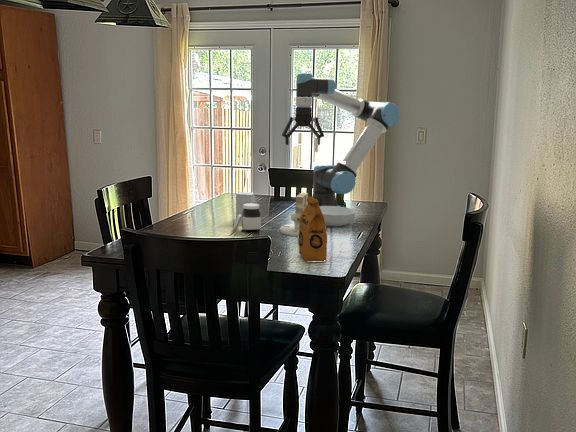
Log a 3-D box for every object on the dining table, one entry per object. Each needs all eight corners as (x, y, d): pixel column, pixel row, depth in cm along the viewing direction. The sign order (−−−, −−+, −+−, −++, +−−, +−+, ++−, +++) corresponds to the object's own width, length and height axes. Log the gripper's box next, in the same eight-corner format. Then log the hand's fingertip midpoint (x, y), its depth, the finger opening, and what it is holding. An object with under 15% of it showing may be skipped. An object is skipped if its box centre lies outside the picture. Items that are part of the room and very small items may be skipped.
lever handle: (294, 216, 254) (294, 192, 252) (313, 218, 252) (314, 193, 250) (287, 221, 243) (288, 196, 241) (308, 223, 241) (309, 197, 239)
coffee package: (301, 263, 202) (303, 202, 197) (296, 254, 214) (297, 196, 209) (329, 263, 203) (331, 202, 199) (322, 253, 215) (324, 196, 211)
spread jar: (262, 233, 245) (262, 206, 242) (236, 234, 242) (236, 207, 239) (255, 227, 256) (256, 201, 254) (230, 228, 253) (231, 202, 250)
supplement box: (250, 221, 267) (251, 194, 264) (235, 220, 268) (235, 193, 266) (254, 218, 274) (255, 192, 272) (239, 217, 276) (240, 191, 273)
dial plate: (327, 229, 254) (327, 218, 253) (313, 238, 238) (314, 226, 237) (289, 225, 261) (289, 214, 260) (273, 233, 244) (274, 222, 243)
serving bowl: (324, 231, 251) (325, 216, 250) (301, 221, 270) (302, 207, 268) (363, 227, 261) (364, 212, 259) (339, 218, 279) (339, 204, 278)
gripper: (279, 106, 263) (278, 152, 267) (331, 107, 269) (329, 152, 273) (276, 105, 270) (275, 151, 275) (326, 107, 276) (325, 151, 280)
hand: (302, 151), depth 274 cm, fingers open, 13 cm apart
